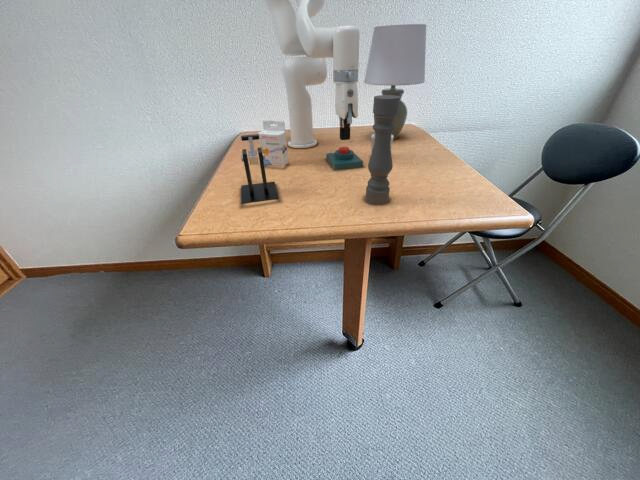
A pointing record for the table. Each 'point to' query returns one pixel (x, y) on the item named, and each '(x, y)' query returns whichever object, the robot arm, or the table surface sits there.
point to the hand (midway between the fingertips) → (344, 139)
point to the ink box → (274, 143)
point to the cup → (374, 140)
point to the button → (344, 150)
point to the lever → (251, 147)
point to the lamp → (397, 62)
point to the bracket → (259, 190)
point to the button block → (344, 160)
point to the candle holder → (382, 148)
